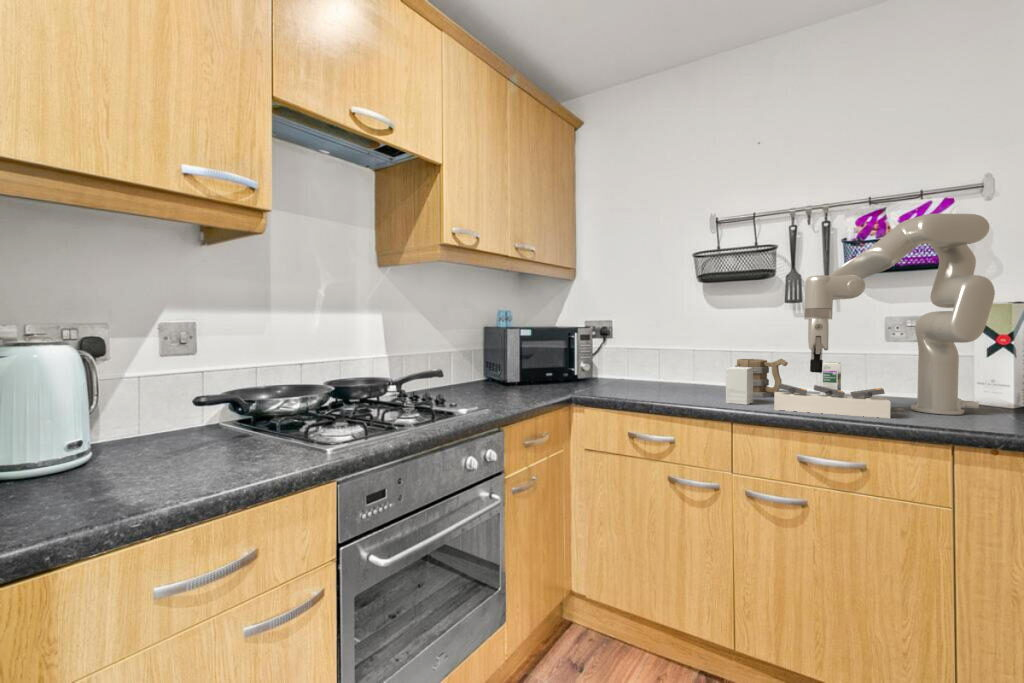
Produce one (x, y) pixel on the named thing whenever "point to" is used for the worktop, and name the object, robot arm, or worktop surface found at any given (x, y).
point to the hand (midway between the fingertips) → (816, 372)
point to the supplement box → (739, 385)
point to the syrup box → (831, 376)
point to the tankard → (763, 375)
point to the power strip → (834, 404)
